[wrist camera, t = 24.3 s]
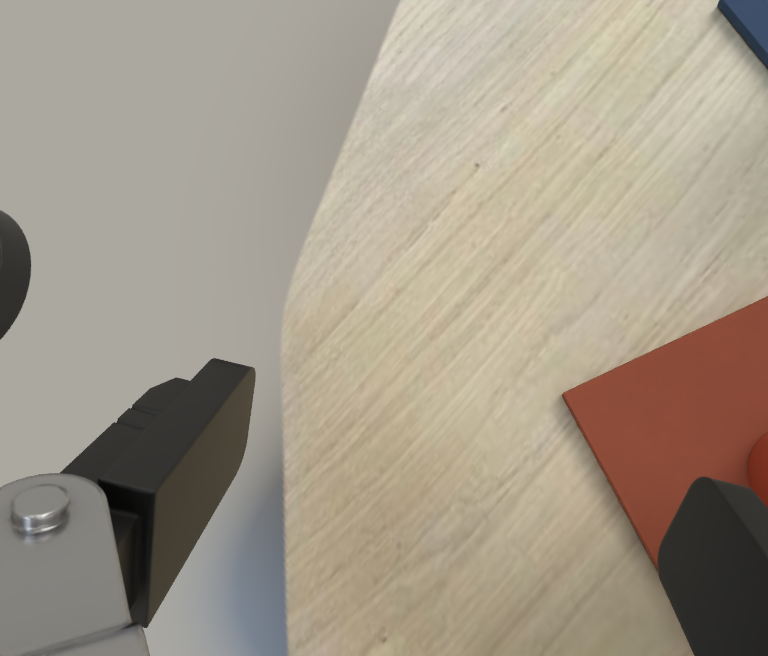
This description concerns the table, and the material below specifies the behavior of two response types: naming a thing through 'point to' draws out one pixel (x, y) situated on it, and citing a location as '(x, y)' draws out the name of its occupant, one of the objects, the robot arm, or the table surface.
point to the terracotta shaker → (759, 469)
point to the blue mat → (749, 23)
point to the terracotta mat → (678, 417)
